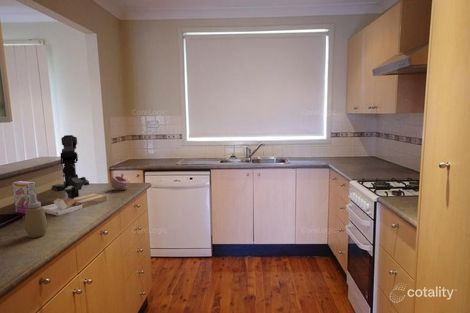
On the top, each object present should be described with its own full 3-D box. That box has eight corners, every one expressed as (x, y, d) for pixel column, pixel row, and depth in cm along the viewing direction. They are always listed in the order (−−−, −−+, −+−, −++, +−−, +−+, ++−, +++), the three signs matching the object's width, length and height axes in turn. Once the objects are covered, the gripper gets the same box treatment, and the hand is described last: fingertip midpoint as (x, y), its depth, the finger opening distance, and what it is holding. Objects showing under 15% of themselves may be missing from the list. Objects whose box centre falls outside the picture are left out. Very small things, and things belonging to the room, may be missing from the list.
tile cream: (61, 205, 170) (57, 208, 168) (57, 198, 168) (53, 201, 166) (67, 206, 168) (63, 209, 166) (62, 199, 165) (58, 202, 164)
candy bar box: (14, 212, 163) (11, 182, 161) (23, 210, 168) (20, 180, 166) (29, 215, 160) (26, 184, 157) (38, 212, 164) (35, 181, 162)
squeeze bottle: (32, 232, 136) (28, 192, 134) (51, 231, 137) (48, 191, 134) (21, 239, 128) (17, 197, 126) (42, 238, 129) (38, 196, 126)
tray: (39, 211, 166) (39, 207, 165) (64, 204, 178) (64, 201, 178) (57, 215, 158) (57, 212, 158) (82, 208, 170) (82, 205, 170)
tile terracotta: (62, 206, 171) (60, 203, 170) (69, 201, 175) (67, 197, 173) (67, 208, 168) (65, 204, 167) (75, 202, 172) (73, 198, 171)
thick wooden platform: (66, 204, 178) (66, 199, 177) (91, 198, 192) (91, 193, 191) (82, 208, 171) (81, 202, 171) (106, 200, 185) (106, 196, 184)
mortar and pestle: (126, 192, 206) (125, 175, 204) (108, 192, 206) (107, 175, 204) (132, 187, 218) (131, 171, 216) (115, 187, 218) (114, 171, 216)
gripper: (62, 177, 159) (64, 206, 161) (94, 171, 175) (96, 197, 177) (49, 175, 164) (52, 203, 167) (82, 169, 180) (84, 195, 183)
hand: (72, 200), depth 173 cm, fingers closed
